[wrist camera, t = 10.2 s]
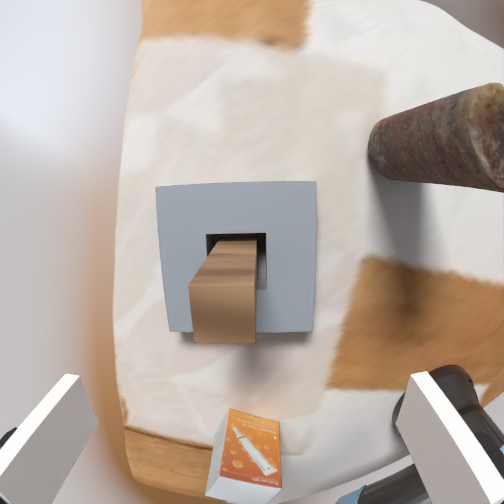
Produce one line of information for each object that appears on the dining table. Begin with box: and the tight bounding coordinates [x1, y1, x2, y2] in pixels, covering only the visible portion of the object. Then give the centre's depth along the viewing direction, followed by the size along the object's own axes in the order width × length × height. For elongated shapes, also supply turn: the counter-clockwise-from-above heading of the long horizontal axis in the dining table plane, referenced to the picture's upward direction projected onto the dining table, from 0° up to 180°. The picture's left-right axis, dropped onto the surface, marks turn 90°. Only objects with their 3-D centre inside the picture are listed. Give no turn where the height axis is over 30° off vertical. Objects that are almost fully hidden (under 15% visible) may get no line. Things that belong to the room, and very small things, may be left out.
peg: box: [188, 236, 258, 343], centre depth 26 cm, size 4×4×16 cm
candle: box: [368, 83, 504, 193], centre depth 21 cm, size 8×7×20 cm
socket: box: [156, 181, 316, 333], centre depth 32 cm, size 16×16×4 cm
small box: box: [205, 408, 282, 504], centre depth 34 cm, size 8×6×13 cm
